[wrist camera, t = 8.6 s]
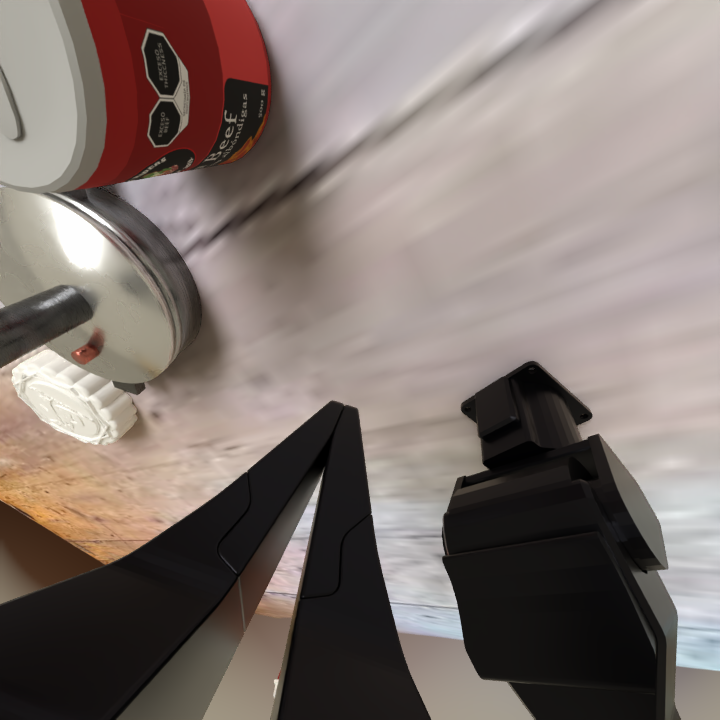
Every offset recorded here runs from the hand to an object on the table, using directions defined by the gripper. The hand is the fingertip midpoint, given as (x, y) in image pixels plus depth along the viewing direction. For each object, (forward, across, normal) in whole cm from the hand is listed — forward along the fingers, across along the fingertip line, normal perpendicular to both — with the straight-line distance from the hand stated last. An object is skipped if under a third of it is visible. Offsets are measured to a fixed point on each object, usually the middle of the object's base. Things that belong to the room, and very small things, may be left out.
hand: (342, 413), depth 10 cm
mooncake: (+14, +30, +24) cm, 41 cm away
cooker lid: (+10, +21, +8) cm, 25 cm away
